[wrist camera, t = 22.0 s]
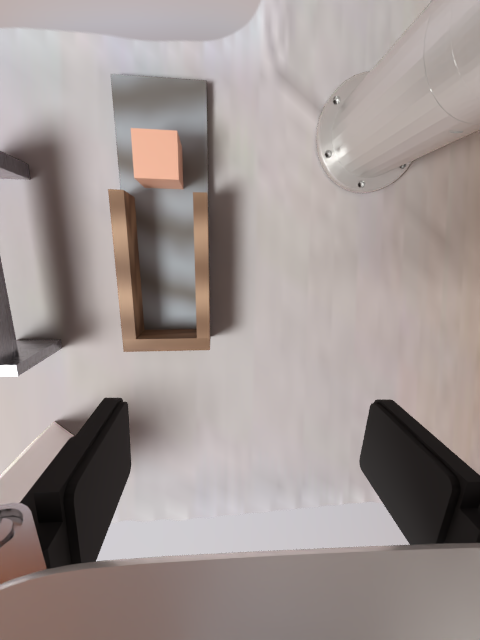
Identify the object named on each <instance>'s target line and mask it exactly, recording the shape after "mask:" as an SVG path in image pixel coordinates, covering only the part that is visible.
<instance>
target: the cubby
mask: <svg viewBox="0 0 480 640" xmlns="http://www.w3.org/2000/svg"><path fill="white" fill-rule="evenodd" d="M111 85H112V97H113V108H114V120H115V132H116V143H117V155H118V167H119V178H120V190H113V189H108V192H109V203H110V213H111V224H112V234H113V245H114V255H115V265H116V276H117V286H118V297H119V307H120V318H121V328H122V339H123V349H124V352H134V351H183V350H210V285H209V218H208V151H207V85H206V81H205V80H191V79H177V78H162V77H148V76H134V75H119V74H111ZM131 128H140V129H158V130H175V131H177V132H178V135H179V139H180V142H181V145H182V159H183V189H161V188H144V187H143V186H142V185H141V184H140V183H139V182H138V181H137V180H136V179H135V178H134V169H133V155H132V141H131Z"/></svg>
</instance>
